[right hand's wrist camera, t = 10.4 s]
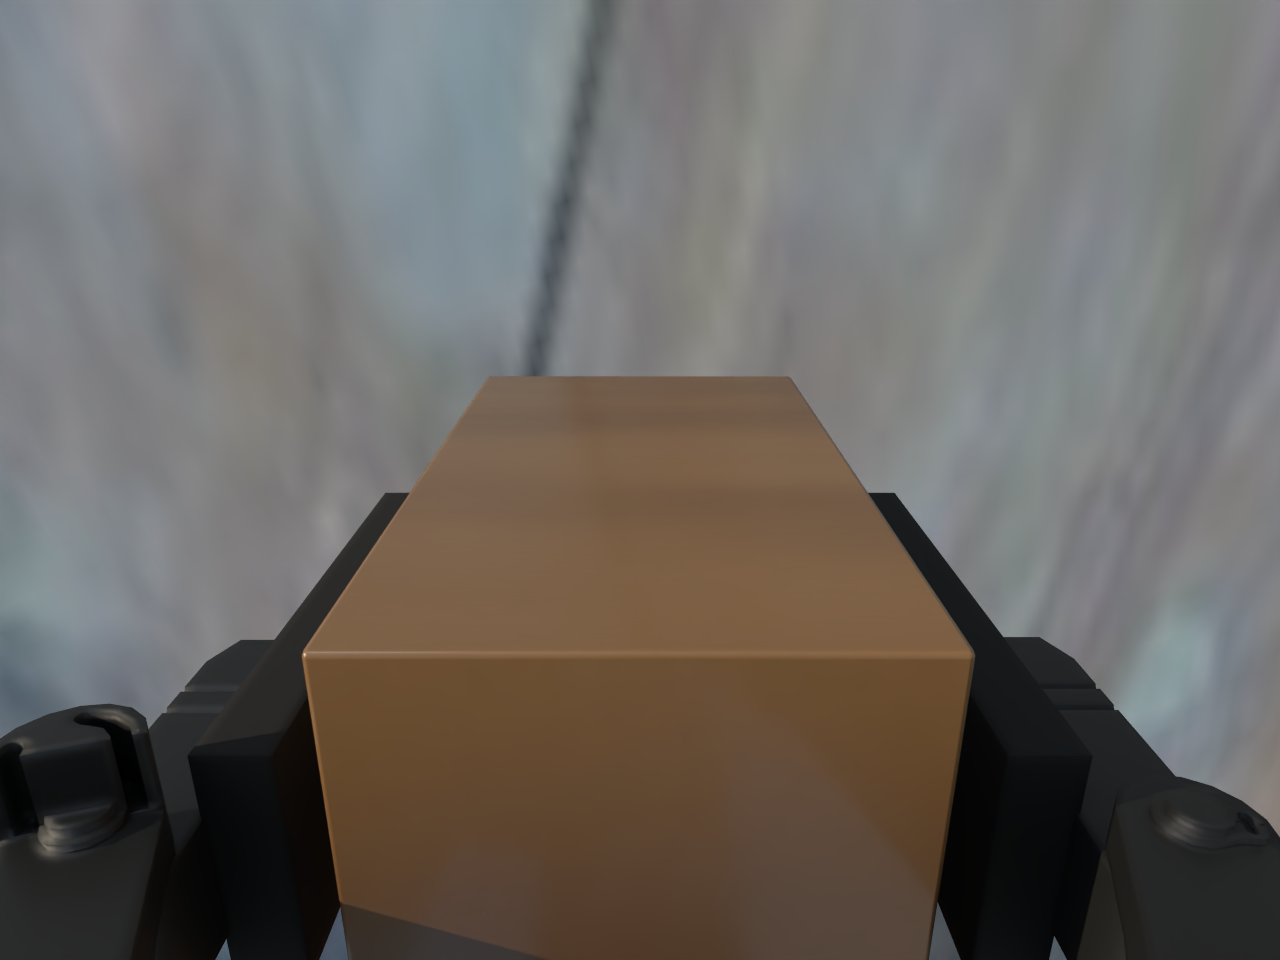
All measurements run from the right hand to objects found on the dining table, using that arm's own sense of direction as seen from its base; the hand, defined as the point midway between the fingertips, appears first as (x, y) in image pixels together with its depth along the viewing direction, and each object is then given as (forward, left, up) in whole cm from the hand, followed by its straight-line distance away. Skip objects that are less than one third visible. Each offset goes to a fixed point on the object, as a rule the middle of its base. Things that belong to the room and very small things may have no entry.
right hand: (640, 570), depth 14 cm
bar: (+3, +10, -1) cm, 10 cm away
